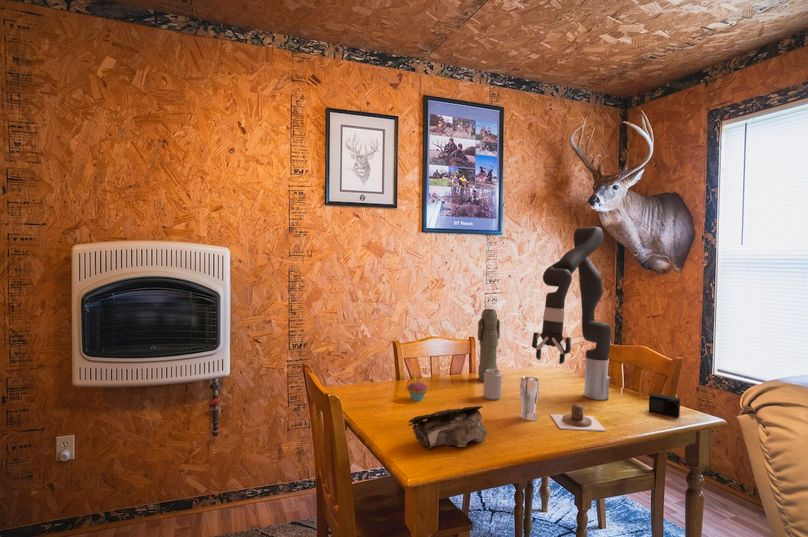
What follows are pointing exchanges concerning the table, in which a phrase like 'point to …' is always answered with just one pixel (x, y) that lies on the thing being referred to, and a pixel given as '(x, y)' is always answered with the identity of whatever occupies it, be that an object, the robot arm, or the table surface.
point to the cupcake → (417, 390)
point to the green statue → (488, 341)
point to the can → (492, 384)
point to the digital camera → (664, 405)
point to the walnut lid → (577, 417)
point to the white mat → (562, 425)
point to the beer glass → (529, 397)
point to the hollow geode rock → (449, 427)
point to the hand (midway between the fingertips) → (549, 361)
